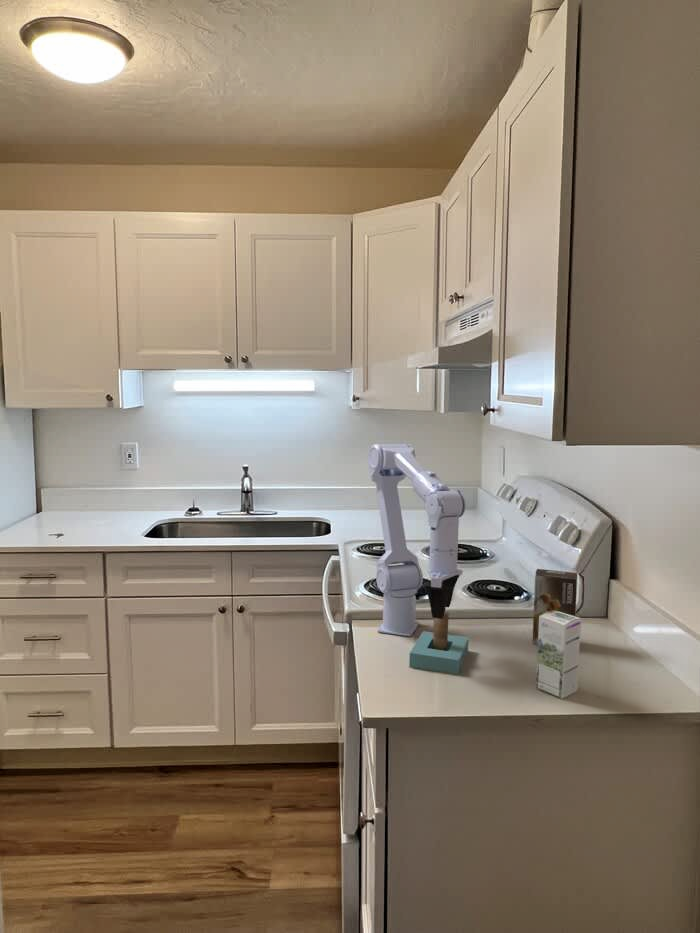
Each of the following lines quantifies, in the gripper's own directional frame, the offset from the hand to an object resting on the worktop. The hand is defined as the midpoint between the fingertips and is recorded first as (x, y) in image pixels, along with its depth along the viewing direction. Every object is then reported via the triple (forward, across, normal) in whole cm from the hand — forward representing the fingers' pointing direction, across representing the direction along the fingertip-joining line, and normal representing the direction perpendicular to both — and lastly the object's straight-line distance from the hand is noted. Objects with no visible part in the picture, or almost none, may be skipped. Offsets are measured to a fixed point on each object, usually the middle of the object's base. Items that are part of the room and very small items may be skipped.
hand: (441, 611), depth 133 cm
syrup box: (+10, -6, -24) cm, 26 cm away
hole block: (+10, 0, 0) cm, 10 cm away
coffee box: (+10, +18, -22) cm, 31 cm away
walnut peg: (+10, 0, 0) cm, 10 cm away
